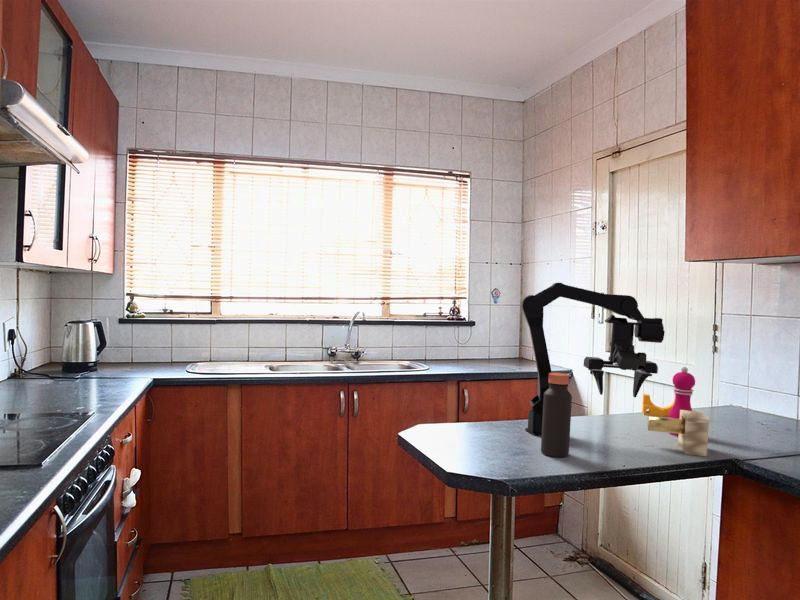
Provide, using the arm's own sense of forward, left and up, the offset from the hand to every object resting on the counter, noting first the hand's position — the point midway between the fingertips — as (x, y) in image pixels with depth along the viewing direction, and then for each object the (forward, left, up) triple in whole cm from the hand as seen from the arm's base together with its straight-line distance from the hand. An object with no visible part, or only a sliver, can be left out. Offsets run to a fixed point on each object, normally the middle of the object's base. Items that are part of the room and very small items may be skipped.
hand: (617, 395), depth 160 cm
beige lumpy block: (+15, -12, -12) cm, 23 cm away
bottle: (-25, -11, -12) cm, 30 cm away
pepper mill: (+24, +3, -12) cm, 27 cm away
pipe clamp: (+36, +26, -13) cm, 46 cm away
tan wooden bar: (+11, -10, -8) cm, 17 cm away
